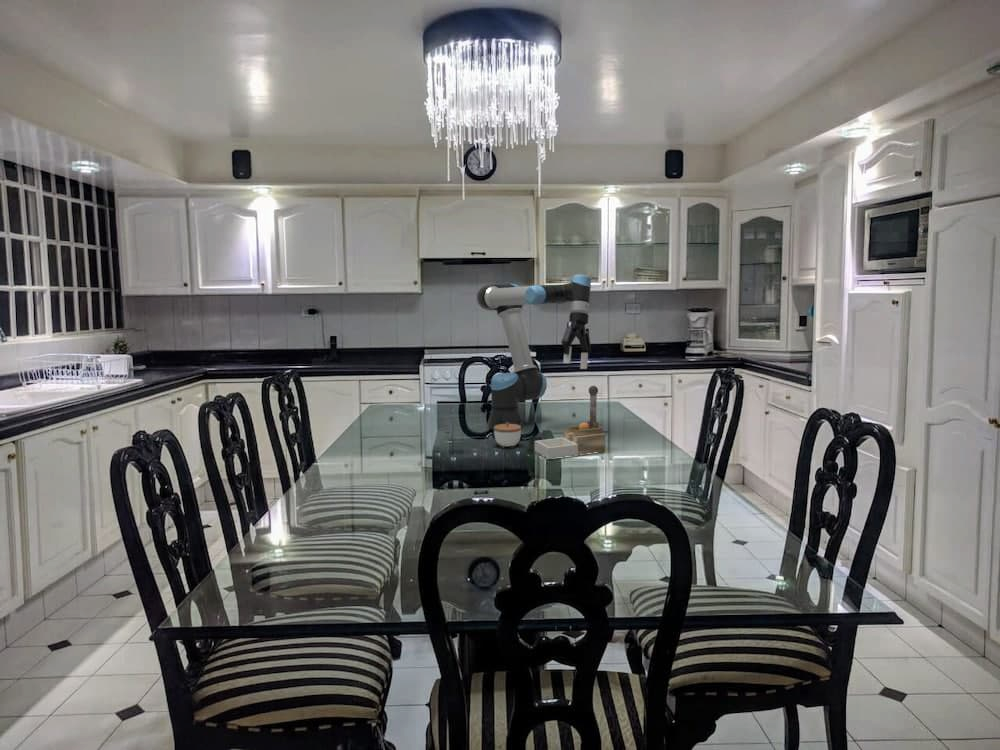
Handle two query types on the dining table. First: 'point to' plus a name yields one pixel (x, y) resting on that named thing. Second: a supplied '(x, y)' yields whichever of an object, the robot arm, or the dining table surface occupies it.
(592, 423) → the plunger
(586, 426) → the ball
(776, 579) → the dining table surface
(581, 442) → the launcher
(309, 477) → the dining table surface
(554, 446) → the tray
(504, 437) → the lidded jar
